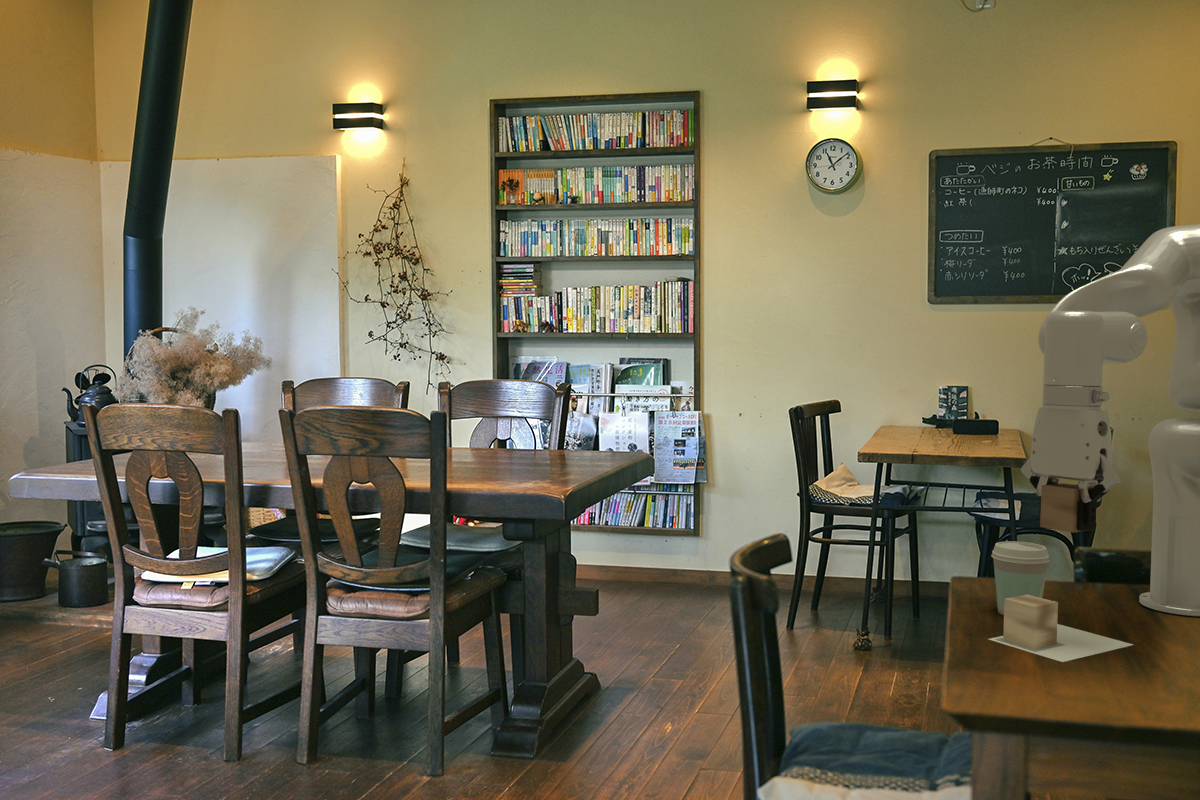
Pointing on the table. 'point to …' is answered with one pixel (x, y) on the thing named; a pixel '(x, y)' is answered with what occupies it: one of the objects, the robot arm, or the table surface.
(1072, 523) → the walnut block
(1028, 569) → the coffee cup
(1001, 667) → the table surface
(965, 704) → the table surface
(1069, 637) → the build board
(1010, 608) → the beech block
